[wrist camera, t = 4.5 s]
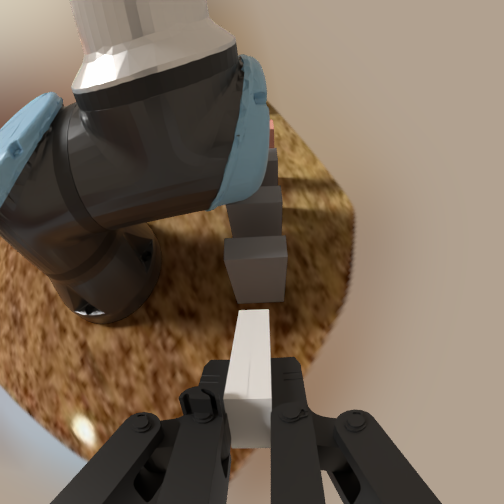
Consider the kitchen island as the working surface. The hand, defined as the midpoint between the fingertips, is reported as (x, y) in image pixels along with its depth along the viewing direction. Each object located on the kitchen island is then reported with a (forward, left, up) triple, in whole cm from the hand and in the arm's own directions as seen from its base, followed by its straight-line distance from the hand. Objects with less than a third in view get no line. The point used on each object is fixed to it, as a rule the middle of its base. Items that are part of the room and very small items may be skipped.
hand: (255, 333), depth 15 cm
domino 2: (+6, +6, -15) cm, 17 cm away
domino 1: (+10, +10, -15) cm, 21 cm away
